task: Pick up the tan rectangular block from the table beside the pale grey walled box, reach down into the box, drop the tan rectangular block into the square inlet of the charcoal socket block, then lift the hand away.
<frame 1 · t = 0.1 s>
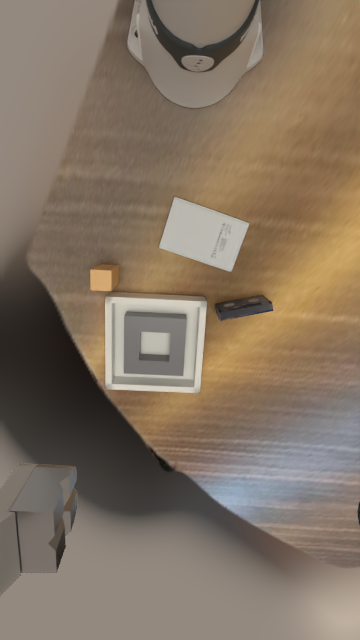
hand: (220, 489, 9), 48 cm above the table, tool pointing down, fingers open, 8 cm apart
mini dv tape: (239, 303, 57), on the table
external hard drive: (202, 235, 55), on the table
walled box: (155, 338, 59), on the table
tan rectangular block: (109, 273, 55), on the table
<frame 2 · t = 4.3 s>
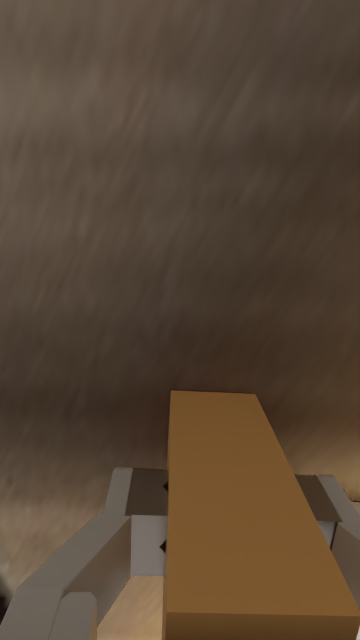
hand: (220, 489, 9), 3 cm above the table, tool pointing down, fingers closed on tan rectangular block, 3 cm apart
tan rectangular block: (209, 429, 12), on the table, touching gripper
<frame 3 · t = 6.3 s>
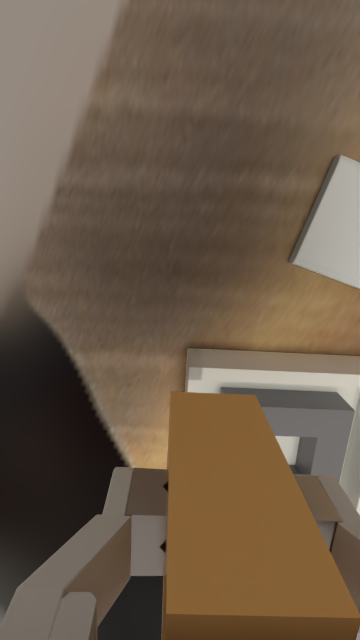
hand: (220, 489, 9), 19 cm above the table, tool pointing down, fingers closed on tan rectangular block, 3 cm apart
walled box: (268, 433, 31), on the table
tan rectangular block: (209, 430, 12), point 16 cm above the table, touching gripper
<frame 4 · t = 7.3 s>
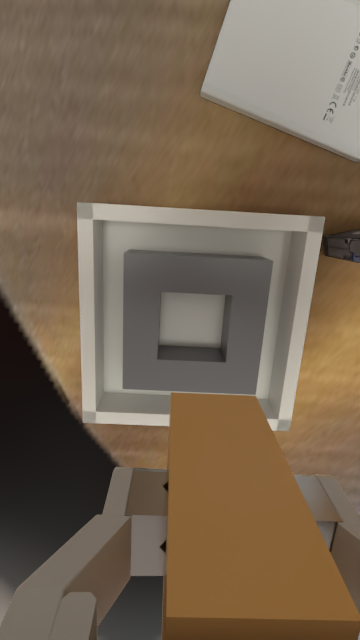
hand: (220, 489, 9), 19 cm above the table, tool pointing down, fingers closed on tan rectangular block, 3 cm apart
external hard drive: (301, 72, 24), on the table
walled box: (191, 313, 28), on the table
tan rectangular block: (210, 431, 12), point 16 cm above the table, touching gripper
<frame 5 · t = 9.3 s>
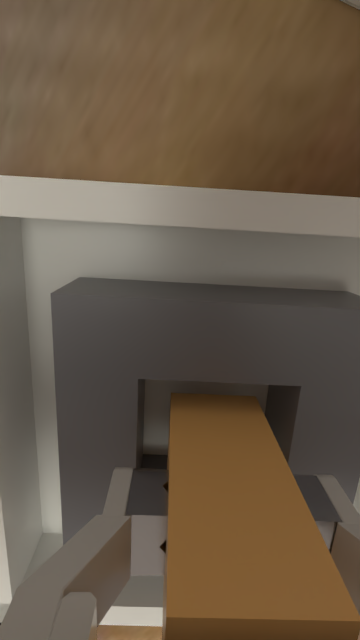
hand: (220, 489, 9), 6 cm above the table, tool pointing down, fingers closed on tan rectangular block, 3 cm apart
walled box: (203, 392, 15), on the table
tan rectangular block: (210, 431, 12), point 3 cm above the table, touching gripper
when the fingers open (5 cm above the table, at t = 9.9 s): tan rectangular block drops 1 cm, resting on walled box.
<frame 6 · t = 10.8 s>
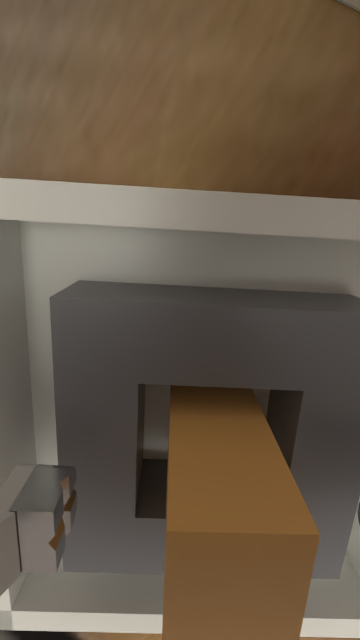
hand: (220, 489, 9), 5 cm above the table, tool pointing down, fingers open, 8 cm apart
walled box: (204, 396, 15), on the table
tan rectangular block: (206, 410, 14), point 1 cm above the table, touching walled box
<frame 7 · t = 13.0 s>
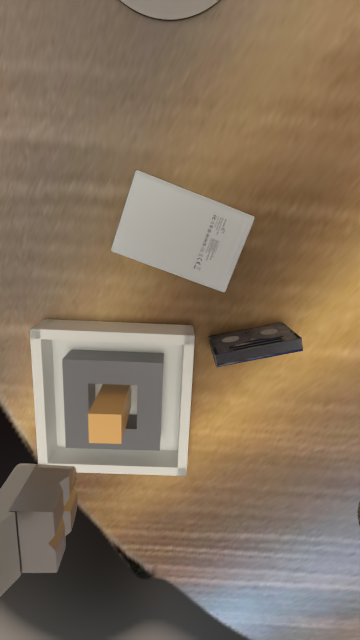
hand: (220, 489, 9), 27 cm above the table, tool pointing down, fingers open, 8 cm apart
mini dv tape: (245, 335, 37), on the table
external hard drive: (181, 234, 35), on the table
walled box: (119, 389, 38), on the table
tan rectangular block: (117, 394, 37), point 1 cm above the table, touching walled box
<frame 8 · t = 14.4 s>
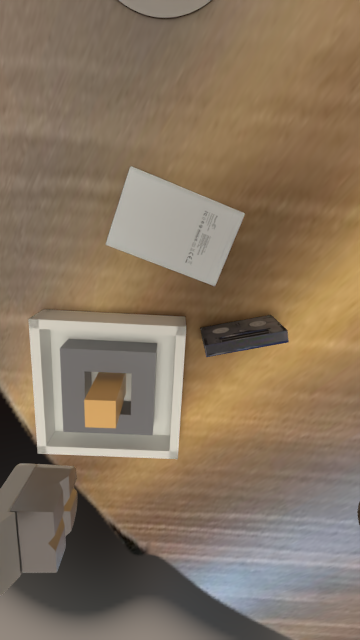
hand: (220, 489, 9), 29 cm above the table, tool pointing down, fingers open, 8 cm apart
mini dv tape: (236, 326, 39), on the table
external hard drive: (174, 229, 36), on the table
walled box: (114, 377, 40), on the table
tan rectangular block: (113, 381, 39), point 1 cm above the table, touching walled box
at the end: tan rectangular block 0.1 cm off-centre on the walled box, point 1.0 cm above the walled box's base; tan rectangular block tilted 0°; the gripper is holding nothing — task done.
